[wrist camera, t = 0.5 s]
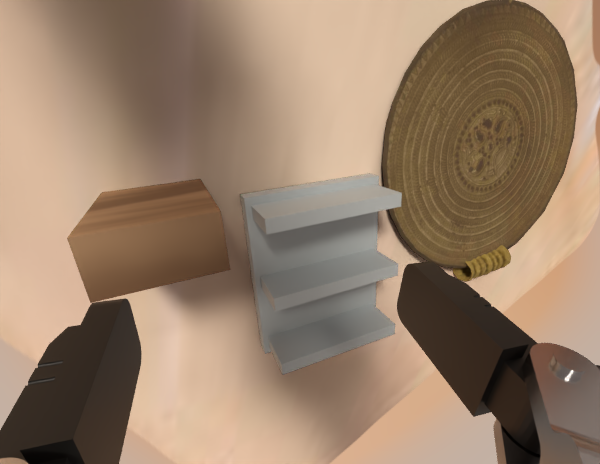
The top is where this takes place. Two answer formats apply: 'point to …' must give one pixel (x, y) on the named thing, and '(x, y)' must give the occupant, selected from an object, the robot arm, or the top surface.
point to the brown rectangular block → (148, 239)
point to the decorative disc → (480, 135)
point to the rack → (318, 267)
